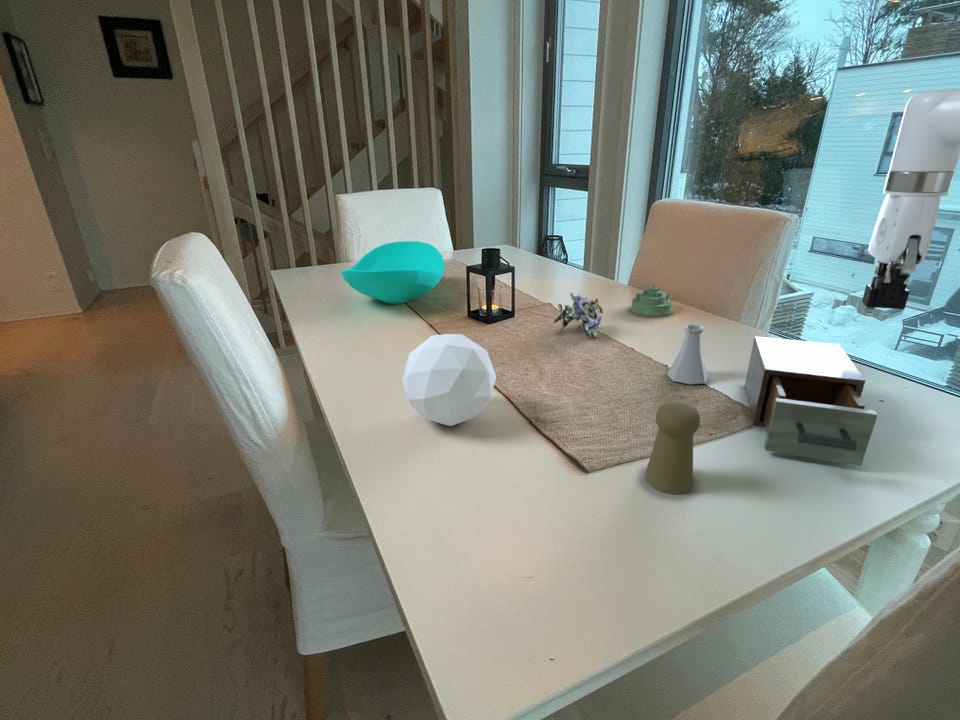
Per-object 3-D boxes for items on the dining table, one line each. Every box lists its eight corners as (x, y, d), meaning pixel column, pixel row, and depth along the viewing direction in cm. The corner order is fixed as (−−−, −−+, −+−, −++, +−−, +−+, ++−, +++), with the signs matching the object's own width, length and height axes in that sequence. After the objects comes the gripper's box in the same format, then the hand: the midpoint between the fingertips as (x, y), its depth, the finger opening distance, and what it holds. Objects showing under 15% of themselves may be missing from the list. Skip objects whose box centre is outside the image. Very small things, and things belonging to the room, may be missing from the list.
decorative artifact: (630, 314, 130) (671, 317, 127) (633, 288, 127) (675, 290, 124) (632, 303, 139) (671, 306, 136) (634, 278, 136) (674, 280, 133)
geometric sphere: (442, 433, 89) (439, 350, 93) (515, 424, 81) (510, 334, 85) (383, 428, 78) (383, 333, 81) (461, 416, 70) (458, 312, 73)
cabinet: (847, 439, 75) (865, 380, 72) (752, 425, 80) (764, 369, 76) (825, 396, 88) (839, 344, 84) (744, 386, 92) (754, 336, 88)
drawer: (871, 486, 64) (889, 432, 61) (769, 468, 68) (781, 417, 65) (836, 417, 79) (849, 372, 76) (754, 406, 83) (764, 362, 80)
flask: (668, 384, 93) (675, 332, 90) (664, 368, 100) (671, 319, 96) (710, 387, 92) (719, 335, 88) (704, 370, 98) (712, 321, 94)
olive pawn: (696, 474, 68) (709, 401, 64) (688, 500, 64) (701, 423, 59) (650, 461, 71) (660, 391, 67) (639, 485, 67) (648, 411, 62)
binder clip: (898, 304, 83) (906, 277, 81) (904, 309, 80) (912, 282, 79) (861, 302, 85) (868, 275, 83) (866, 307, 82) (873, 280, 81)
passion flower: (591, 358, 119) (598, 329, 108) (546, 345, 121) (549, 316, 111) (602, 320, 124) (611, 289, 113) (559, 309, 126) (563, 277, 116)
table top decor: (432, 323, 128) (429, 270, 122) (325, 322, 130) (318, 271, 125) (454, 282, 164) (452, 240, 159) (370, 282, 167) (365, 241, 161)
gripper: (870, 180, 84) (843, 289, 91) (904, 188, 70) (869, 317, 77) (927, 180, 81) (894, 292, 88) (974, 188, 67) (931, 321, 74)
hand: (883, 303), depth 82 cm, fingers closed on binder clip, 3 cm apart
